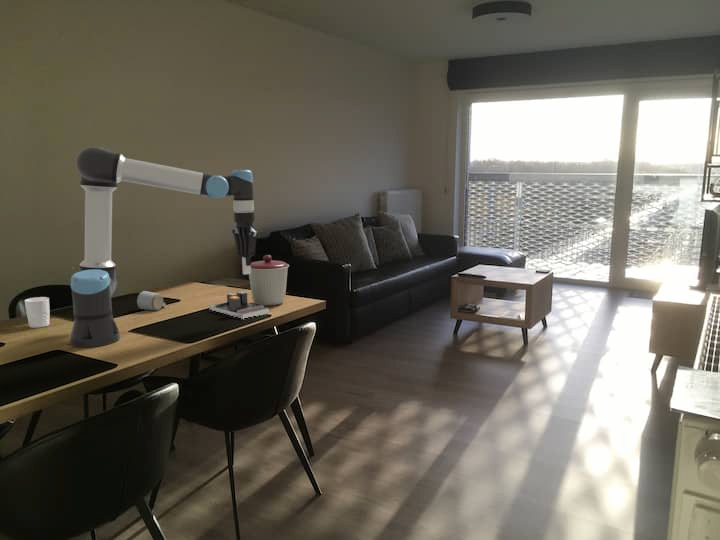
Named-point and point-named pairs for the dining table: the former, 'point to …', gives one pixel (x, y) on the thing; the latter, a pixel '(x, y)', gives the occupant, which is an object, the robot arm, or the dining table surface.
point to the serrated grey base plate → (245, 310)
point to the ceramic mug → (150, 301)
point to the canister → (268, 281)
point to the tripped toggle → (234, 303)
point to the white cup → (38, 312)
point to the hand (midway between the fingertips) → (246, 273)
